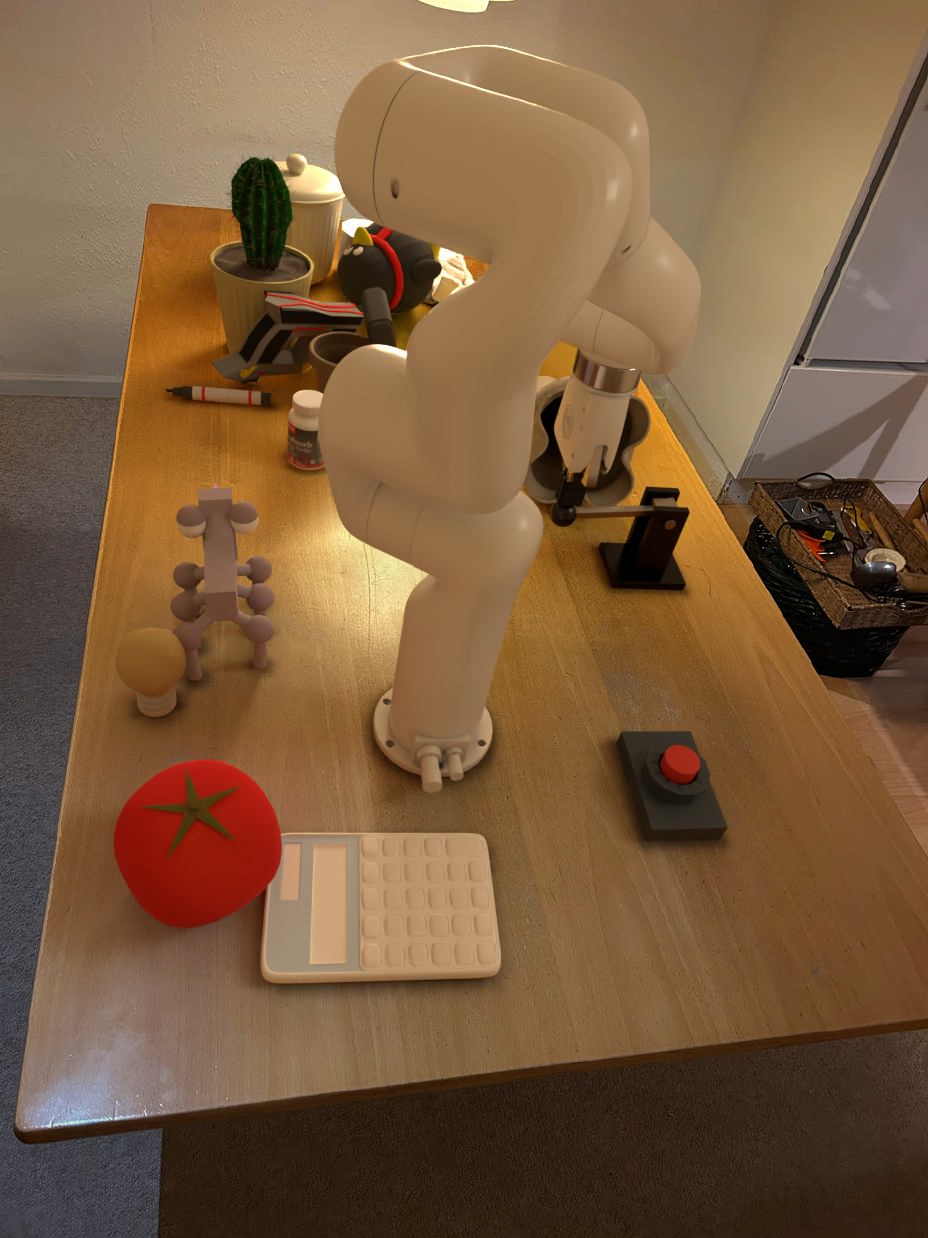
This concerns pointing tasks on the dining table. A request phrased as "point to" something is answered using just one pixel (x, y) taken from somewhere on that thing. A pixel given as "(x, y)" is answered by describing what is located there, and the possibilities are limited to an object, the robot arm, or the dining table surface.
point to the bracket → (648, 547)
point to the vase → (549, 458)
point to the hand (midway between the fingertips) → (568, 501)
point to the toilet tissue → (349, 234)
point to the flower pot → (332, 352)
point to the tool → (286, 336)
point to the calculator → (380, 909)
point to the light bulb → (151, 668)
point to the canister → (313, 212)
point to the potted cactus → (257, 251)
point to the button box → (668, 789)
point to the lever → (604, 511)
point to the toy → (388, 267)
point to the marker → (222, 395)
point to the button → (680, 764)
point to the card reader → (378, 317)
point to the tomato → (197, 843)
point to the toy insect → (220, 576)
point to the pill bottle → (305, 431)
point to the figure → (450, 275)
